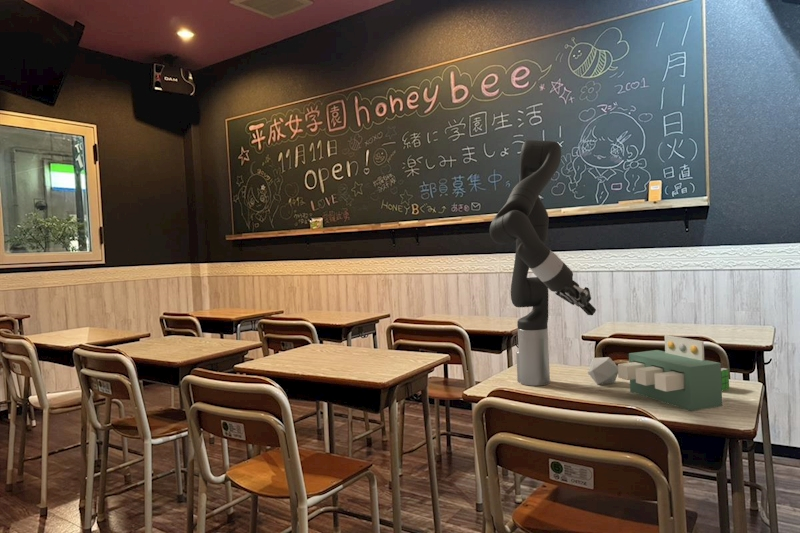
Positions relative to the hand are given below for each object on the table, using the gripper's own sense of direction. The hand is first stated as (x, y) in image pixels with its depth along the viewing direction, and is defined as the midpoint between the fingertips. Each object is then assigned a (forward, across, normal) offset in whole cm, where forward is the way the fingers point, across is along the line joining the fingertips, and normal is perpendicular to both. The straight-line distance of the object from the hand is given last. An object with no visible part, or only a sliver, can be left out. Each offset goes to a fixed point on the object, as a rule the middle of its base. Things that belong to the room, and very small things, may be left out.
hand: (592, 312), depth 152 cm
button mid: (+22, -6, +5) cm, 24 cm away
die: (+28, +17, +6) cm, 33 cm away
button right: (+23, -13, +5) cm, 27 cm away
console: (+31, -6, +3) cm, 32 cm away
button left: (+22, +1, +5) cm, 23 cm away
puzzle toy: (+44, -3, -9) cm, 45 cm away
